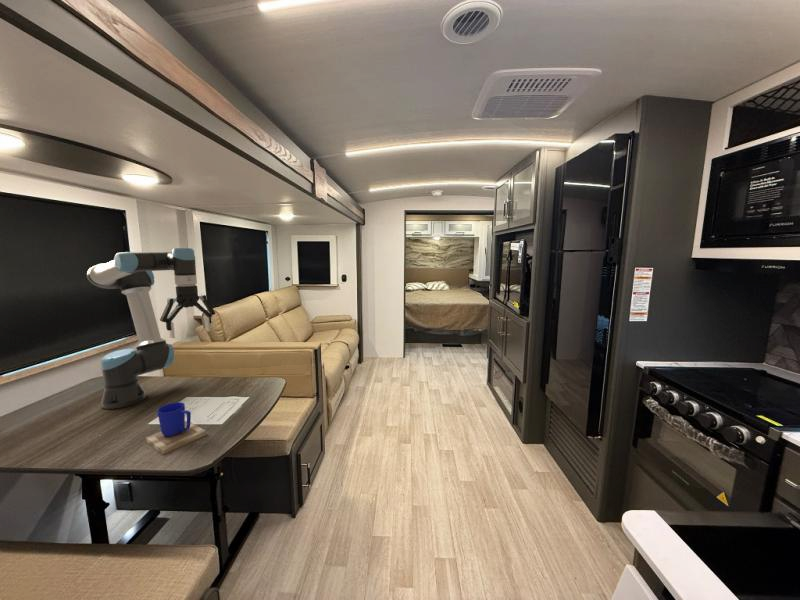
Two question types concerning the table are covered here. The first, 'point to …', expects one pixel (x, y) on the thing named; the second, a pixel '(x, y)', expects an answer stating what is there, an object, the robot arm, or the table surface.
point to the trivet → (175, 438)
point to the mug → (173, 418)
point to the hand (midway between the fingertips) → (190, 334)
